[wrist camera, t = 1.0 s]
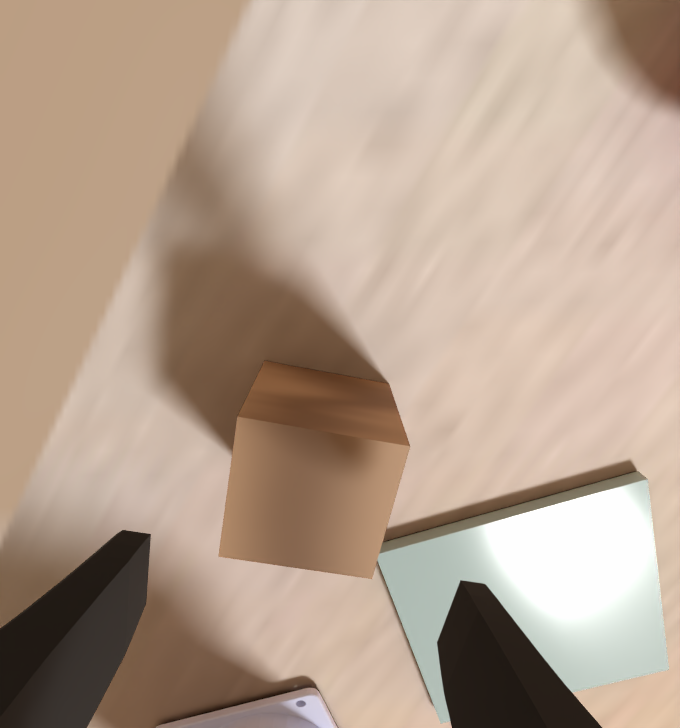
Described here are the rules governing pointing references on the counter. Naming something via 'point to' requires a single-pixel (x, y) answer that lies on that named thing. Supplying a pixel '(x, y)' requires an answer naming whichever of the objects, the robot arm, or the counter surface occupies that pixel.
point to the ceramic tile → (544, 582)
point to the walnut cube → (313, 471)
